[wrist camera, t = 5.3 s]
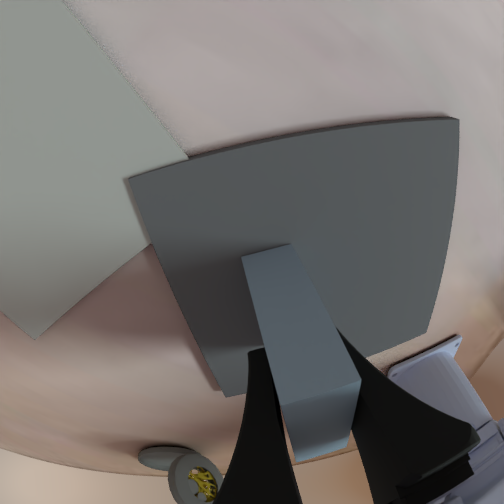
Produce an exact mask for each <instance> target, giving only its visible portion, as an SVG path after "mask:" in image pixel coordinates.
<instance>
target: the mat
mask: <svg viewBox="0 0 504 504" xmlns="http://www.w3.org/2000/svg"><path fill="white" fill-rule="evenodd" d="M188 158H189V160H185V161H181V162H178V163H174V164H171V165H168V166H164V167H161V168H158V169H154V170H151V171H148V172H145V173H142V174H139V175H136V176H132V177H129V179H128V181H129V184H130V187H131V189H132V192H133V195H134V198H135V200H136V203H137V206H138V208H139V211H140V214H141V216H142V219H143V222H144V224H145V227H146V229H147V232H148V234H149V237H150V239H151V242H152V244H153V247H154V249H155V252H156V254H157V256H158V259H159V261H160V264H161V266H162V268H163V271H164V273H165V275H166V278H167V280H168V282H169V284H170V287H171V289H172V291H173V293H174V296H175V298H176V300H177V302H178V304H179V306H180V309H181V311H182V313H183V315H184V317H185V319H186V321H187V323H188V326H189V328H190V330H191V332H192V334H193V336H194V338H195V340H196V342H197V344H198V346H199V348H200V350H201V352H202V354H203V356H204V358H205V360H206V362H207V364H208V365H209V367H210V369H211V371H212V373H213V375H214V377H215V379H216V381H217V382H218V384H219V386H220V388H221V390H222V392H223V393H224V395H225V397H231V396H235V395H240V394H245V393H247V385H248V354H247V353H248V352H249V351H251V350H255V349H259V348H263V347H265V346H264V343H263V339H262V335H261V331H260V328H259V324H258V320H257V316H256V312H255V309H254V305H253V301H252V297H251V293H250V290H249V286H248V282H247V278H246V274H245V270H244V266H243V263H242V259H241V257H242V256H246V255H250V254H254V253H258V252H262V251H265V250H269V249H273V248H277V247H281V246H285V245H289V244H292V246H293V248H294V249H295V251H296V253H297V255H298V257H299V259H300V261H301V262H302V264H303V266H304V268H305V270H306V272H307V274H308V275H309V277H310V279H311V281H312V283H313V285H314V287H315V289H316V291H317V293H318V294H319V296H320V298H321V300H322V302H323V304H324V306H325V308H326V310H327V312H328V314H329V316H330V318H331V320H332V321H333V323H334V325H335V327H336V328H337V329H338V330H339V331H340V332H341V333H342V334H343V336H344V337H345V338H346V339H347V340H348V341H349V342H350V343H351V344H352V345H353V346H354V347H355V348H356V349H357V350H358V351H359V352H360V353H361V354H362V355H363V356H364V357H365V358H366V357H369V356H371V355H374V354H377V353H379V352H382V351H384V350H387V349H389V348H392V347H394V346H397V345H399V344H401V343H404V342H406V341H408V340H411V339H413V338H415V337H418V336H420V335H422V334H424V333H426V332H427V329H428V325H429V322H430V319H431V315H432V312H433V308H434V305H435V301H436V297H437V294H438V290H439V286H440V282H441V277H442V273H443V269H444V264H445V259H446V254H447V249H448V244H449V238H450V232H451V226H452V219H453V212H454V204H455V196H456V186H457V174H458V158H459V119H456V118H453V117H434V118H415V119H401V120H389V121H378V122H369V123H360V124H352V125H344V126H337V127H330V128H323V129H317V130H310V131H304V132H299V133H293V134H287V135H282V136H277V137H272V138H267V139H262V140H257V141H253V142H248V143H244V144H239V145H235V146H231V147H226V148H222V149H218V150H214V151H210V152H206V153H203V154H199V155H195V156H191V157H188Z"/></svg>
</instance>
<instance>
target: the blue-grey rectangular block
mask: <svg viewBox="0 0 504 504" xmlns="http://www.w3.org/2000/svg"><path fill="white" fill-rule="evenodd" d="M241 259H242V263H243V266H244V270H245V274H246V278H247V282H248V286H249V290H250V293H251V297H252V301H253V305H254V309H255V312H256V316H257V320H258V324H259V328H260V331H261V335H262V339H263V343H264V346H265V350H266V354H267V357H268V361H269V365H270V369H271V372H272V376H273V380H274V383H275V387H276V391H277V394H278V398H279V402H280V405H281V409H282V413H283V416H284V420H285V423H286V427H287V431H288V434H289V438H290V441H291V445H292V448H293V452H294V456H295V459H296V462H299V461H303V460H307V459H310V458H314V457H317V456H320V455H323V454H327V453H330V452H333V451H336V450H339V449H342V448H344V447H346V446H347V443H348V439H349V435H350V431H351V427H352V422H353V418H354V414H355V409H356V405H357V400H358V395H359V390H360V385H361V378H360V376H359V374H358V371H357V369H356V367H355V365H354V363H353V361H352V359H351V357H350V355H349V353H348V351H347V349H346V347H345V345H344V343H343V341H342V339H341V337H340V335H339V333H338V331H337V329H336V327H335V325H334V323H333V321H332V320H331V318H330V316H329V314H328V312H327V310H326V308H325V306H324V304H323V302H322V300H321V298H320V296H319V294H318V293H317V291H316V289H315V287H314V285H313V283H312V281H311V279H310V277H309V275H308V274H307V272H306V270H305V268H304V266H303V264H302V262H301V261H300V259H299V257H298V255H297V253H296V251H295V249H294V248H293V246H292V244H289V245H285V246H281V247H277V248H273V249H269V250H265V251H262V252H258V253H254V254H250V255H246V256H242V257H241Z"/></svg>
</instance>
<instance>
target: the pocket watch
mask: <svg viewBox="0 0 504 504" xmlns="http://www.w3.org/2000/svg"><path fill="white" fill-rule="evenodd" d="M138 460H139V462H140V463H141V464H143V465H145V466H147V467H150V468H153V469H157V470H163V471H168V482H169V487H170V491H171V493H172V495H173V498H174V499H175V501H176V502H177V503H178V504H212V503H213V501H214V499H215V497H216V495H217V494H218V491H219V489H220V487H221V485H222V482H223V480H224V479H223V477H222V475H221V473H220V471H219V470H218V468H217V467H216V466H215V465H214V464H213V463H212V462H211V461H210V460H209V459H207V458H206V457H204V456H202V455H201V454H199V453H198V452H195V451H193V450H189V449H185V448H178V447H153V448H148V449H145V450H142V451H141V452H140V453H139V455H138ZM193 469H195V470H198V474H192V473H190V472H192V470H193ZM199 471H200V473H199ZM189 473H190V474H191V475H189ZM193 475H194V476H193ZM192 476H193V477H194V478H193V477H192ZM202 480H207V481H208V483H206V482H207V481H202ZM206 486H207V487H206ZM209 488H210V490H209ZM209 491H210V492H209ZM206 493H207V494H208V495H206ZM209 494H210V496H209Z"/></svg>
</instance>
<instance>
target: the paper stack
mask: <svg viewBox="0 0 504 504" xmlns="http://www.w3.org/2000/svg"><path fill="white" fill-rule="evenodd" d="M185 160H189V158H188V157H187V156H186V154H185V153H184V152H183V150H182V149H181V148H180V147H179V145H178V144H177V143H176V142H175V140H174V139H173V138H172V137H171V135H170V134H169V133H168V132H167V130H166V129H165V128H164V127H163V125H162V124H161V123H160V121H159V120H158V119H157V118H156V116H155V115H154V114H153V113H152V111H151V110H150V109H149V108H148V106H147V105H146V104H145V103H144V101H143V100H142V99H141V98H140V96H139V95H138V94H137V93H136V91H135V90H134V89H133V88H132V86H131V85H130V84H129V83H128V81H127V80H126V79H125V78H124V76H123V75H122V74H121V73H120V71H119V70H118V69H117V68H116V67H115V65H114V64H113V63H112V62H111V60H110V59H109V58H108V57H107V55H106V54H105V53H104V52H103V50H102V49H101V48H100V47H99V45H98V44H97V43H96V42H95V41H94V39H93V38H92V37H91V36H90V34H89V33H88V32H87V31H86V29H85V28H84V27H83V26H82V25H81V23H80V22H79V21H78V20H77V18H76V17H75V16H74V15H73V14H72V12H71V11H70V10H69V9H68V7H67V6H66V5H65V4H64V3H63V1H62V0H0V311H1V312H2V313H3V314H5V315H6V316H7V317H8V318H9V319H10V320H11V321H12V322H14V323H15V324H16V325H17V326H18V327H19V328H21V329H22V330H23V331H24V332H25V333H27V334H28V335H29V336H30V337H31V338H33V339H34V340H36V339H37V338H38V337H39V336H40V335H41V334H42V333H43V332H44V331H46V330H47V329H48V328H49V327H50V326H51V325H52V324H53V323H54V322H56V321H57V320H58V319H59V318H60V317H61V316H62V315H64V314H65V313H66V312H67V311H68V310H69V309H70V308H72V307H73V306H74V305H75V304H76V303H77V302H79V301H80V300H81V299H82V298H83V297H84V296H86V295H87V294H88V293H89V292H90V291H92V290H93V289H94V288H95V287H96V286H98V285H99V284H100V283H101V282H103V281H104V280H105V279H106V278H107V277H109V276H110V275H111V274H112V273H114V272H115V271H116V270H117V269H119V268H120V267H121V266H122V265H124V264H125V263H126V262H127V261H129V260H130V259H131V258H132V257H134V256H135V255H136V254H138V253H139V252H140V251H142V250H143V249H144V248H145V247H147V246H148V245H149V244H151V243H152V242H151V239H150V237H149V234H148V232H147V229H146V227H145V224H144V222H143V219H142V216H141V214H140V211H139V208H138V206H137V203H136V200H135V198H134V195H133V192H132V189H131V187H130V184H129V181H128V179H129V177H132V176H136V175H139V174H142V173H145V172H148V171H151V170H154V169H158V168H161V167H164V166H168V165H171V164H174V163H178V162H181V161H185Z"/></svg>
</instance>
